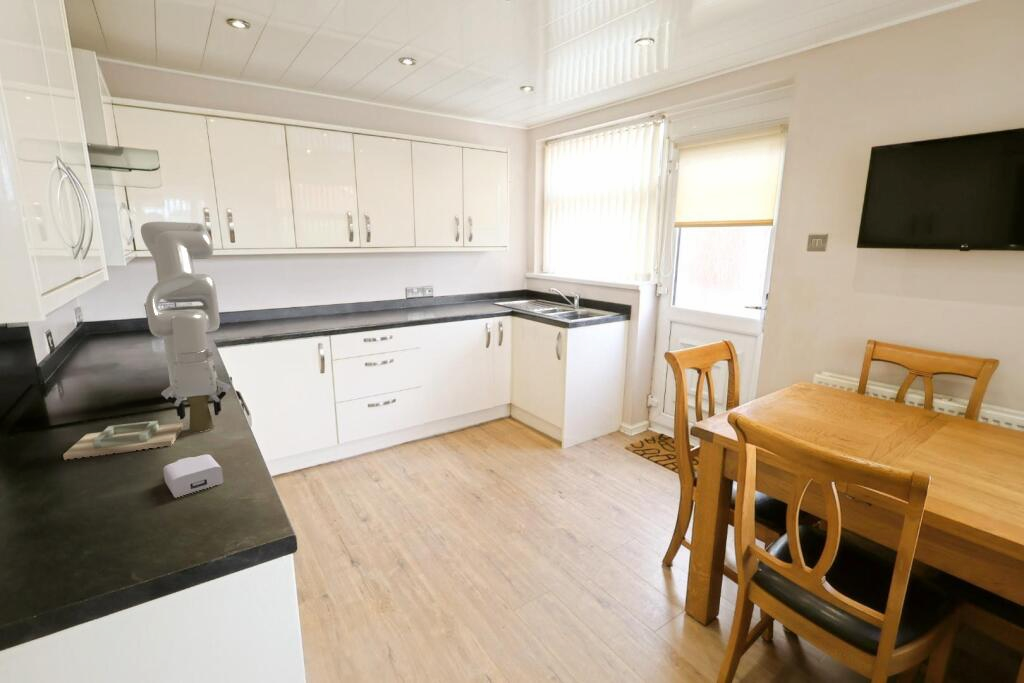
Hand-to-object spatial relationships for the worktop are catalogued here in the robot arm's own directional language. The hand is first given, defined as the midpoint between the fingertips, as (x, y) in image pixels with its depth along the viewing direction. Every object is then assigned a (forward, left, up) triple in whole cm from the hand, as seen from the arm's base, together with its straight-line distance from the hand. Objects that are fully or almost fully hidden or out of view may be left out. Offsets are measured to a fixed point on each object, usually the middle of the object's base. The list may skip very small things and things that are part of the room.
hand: (200, 415), depth 134 cm
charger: (+34, +3, -4) cm, 34 cm away
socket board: (+4, -16, -4) cm, 17 cm away
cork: (0, 0, -4) cm, 4 cm away
